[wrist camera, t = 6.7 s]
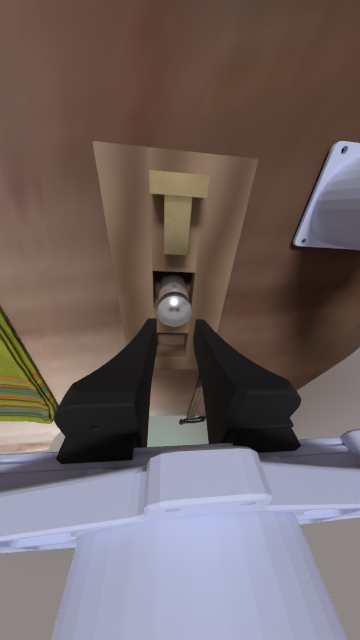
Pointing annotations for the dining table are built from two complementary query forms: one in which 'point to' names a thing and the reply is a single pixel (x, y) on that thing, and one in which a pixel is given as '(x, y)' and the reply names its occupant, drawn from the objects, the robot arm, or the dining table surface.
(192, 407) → the tactical tomahawk
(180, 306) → the peg
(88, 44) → the dining table surface
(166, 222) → the key
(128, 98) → the dining table surface
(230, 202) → the board
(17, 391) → the dish towel
